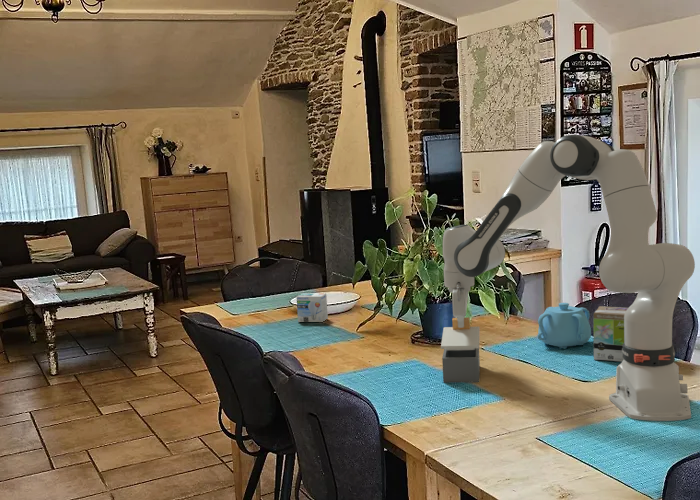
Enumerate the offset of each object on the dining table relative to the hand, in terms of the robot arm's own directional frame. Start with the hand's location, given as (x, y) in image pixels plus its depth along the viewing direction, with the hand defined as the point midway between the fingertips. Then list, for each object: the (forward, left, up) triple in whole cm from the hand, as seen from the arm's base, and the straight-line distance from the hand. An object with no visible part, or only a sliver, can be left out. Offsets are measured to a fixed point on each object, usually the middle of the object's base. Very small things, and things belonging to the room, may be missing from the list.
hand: (461, 325), depth 228 cm
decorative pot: (+25, -32, -13) cm, 43 cm away
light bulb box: (+66, +61, -13) cm, 91 cm away
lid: (-7, 0, -3) cm, 7 cm away
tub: (-7, 0, -13) cm, 14 cm away
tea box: (+8, -47, -13) cm, 49 cm away
